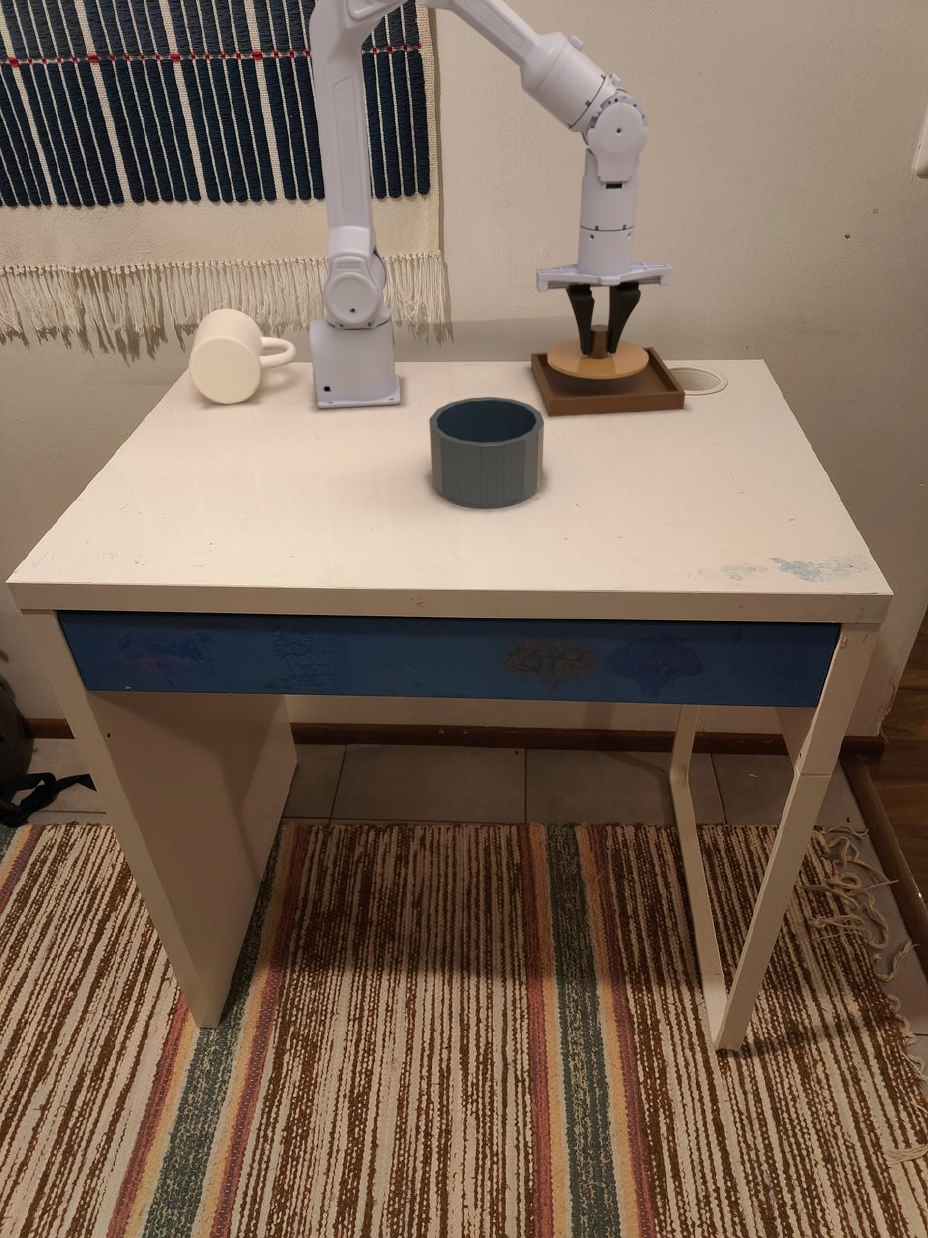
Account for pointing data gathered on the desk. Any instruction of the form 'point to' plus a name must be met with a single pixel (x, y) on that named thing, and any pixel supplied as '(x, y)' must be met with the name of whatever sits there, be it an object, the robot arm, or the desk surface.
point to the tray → (607, 389)
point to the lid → (598, 357)
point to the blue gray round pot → (486, 451)
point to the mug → (233, 356)
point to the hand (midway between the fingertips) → (597, 351)
